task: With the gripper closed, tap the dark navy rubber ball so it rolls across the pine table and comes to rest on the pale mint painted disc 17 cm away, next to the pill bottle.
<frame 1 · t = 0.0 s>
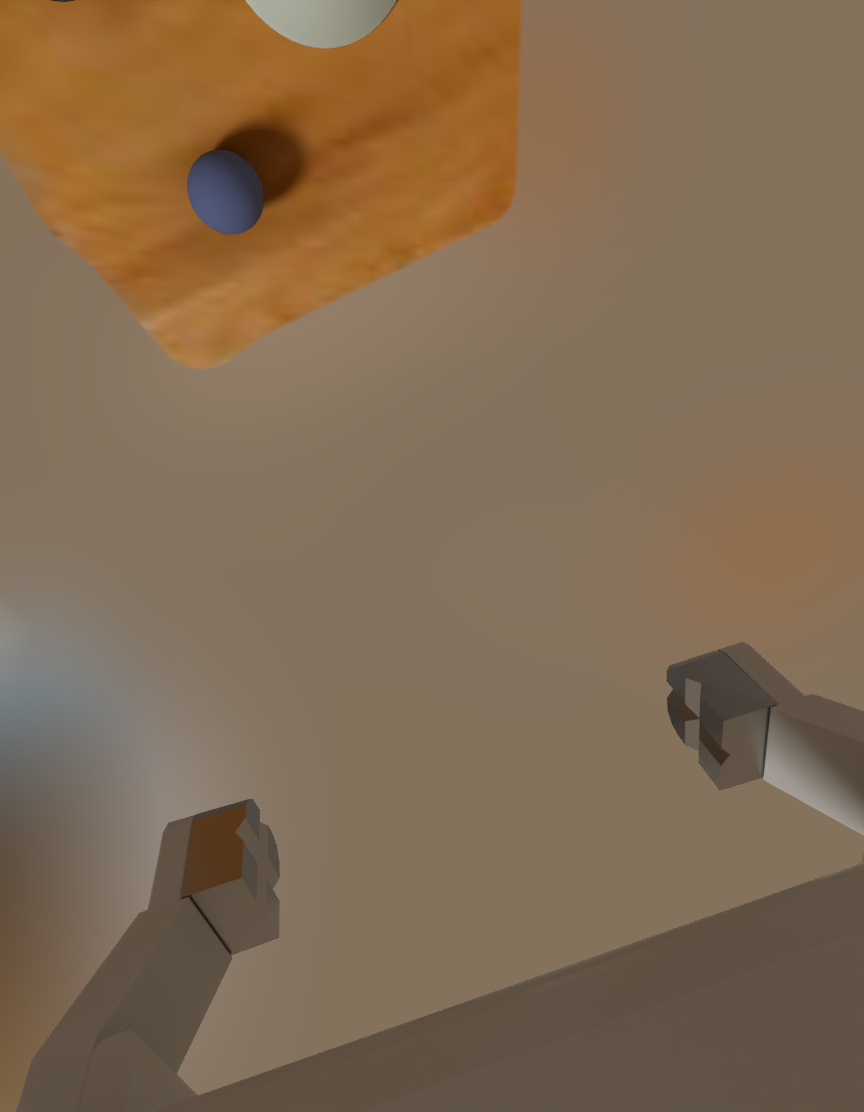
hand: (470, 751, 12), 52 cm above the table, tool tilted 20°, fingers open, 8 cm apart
ball: (226, 193, 47), on the table
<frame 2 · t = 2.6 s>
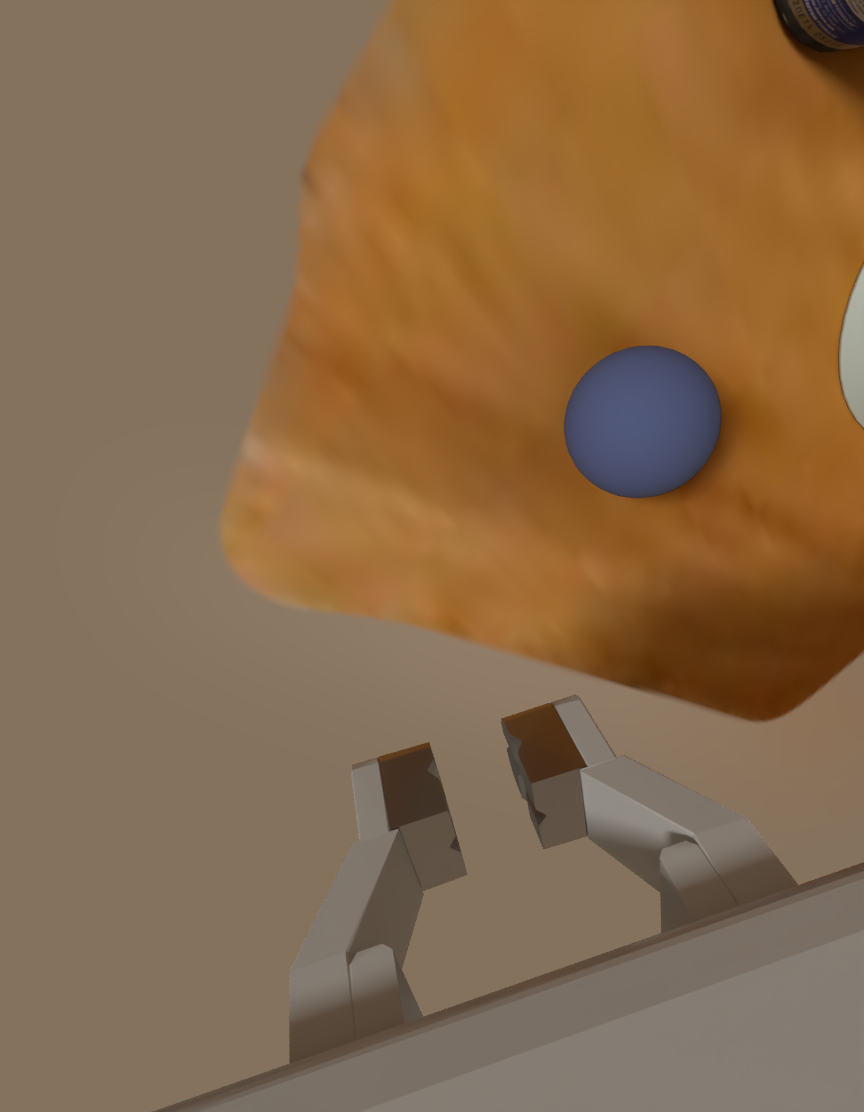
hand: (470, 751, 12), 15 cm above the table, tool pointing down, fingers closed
ball: (639, 423, 23), on the table
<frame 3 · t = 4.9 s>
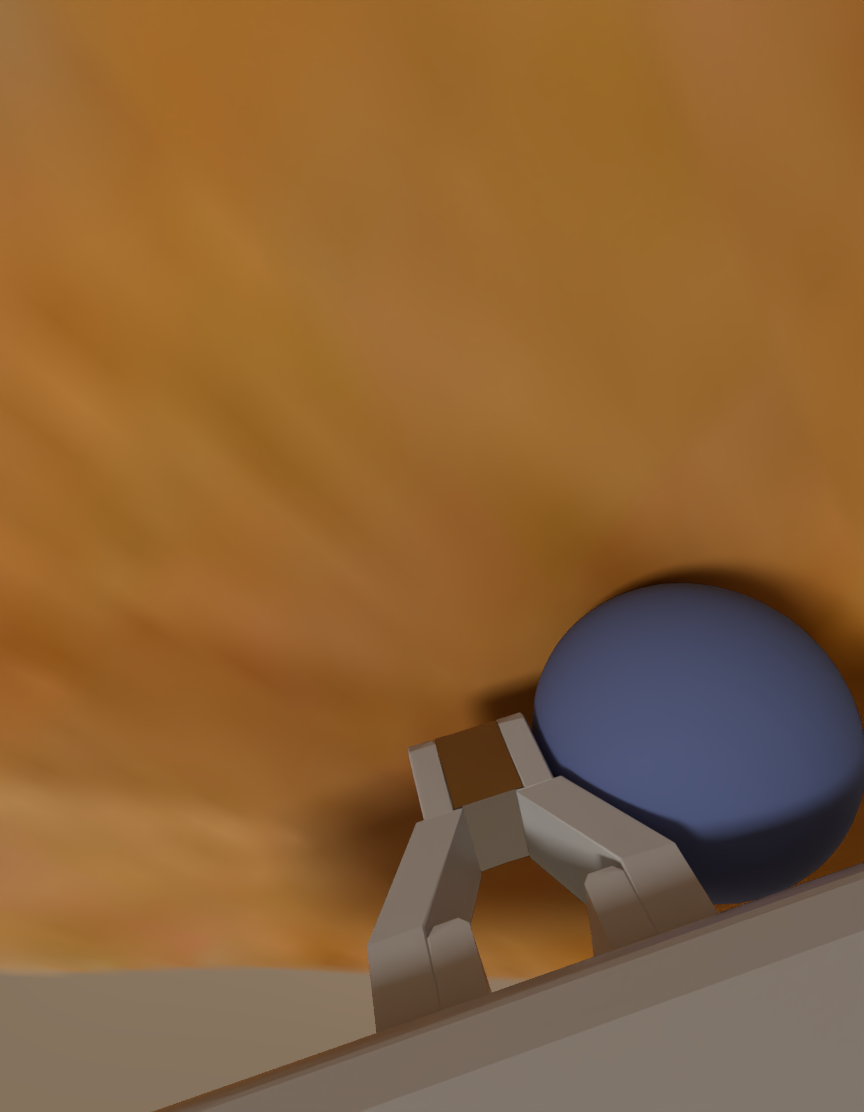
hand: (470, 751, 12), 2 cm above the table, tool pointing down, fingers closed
ball: (683, 732, 11), on the table, touching gripper
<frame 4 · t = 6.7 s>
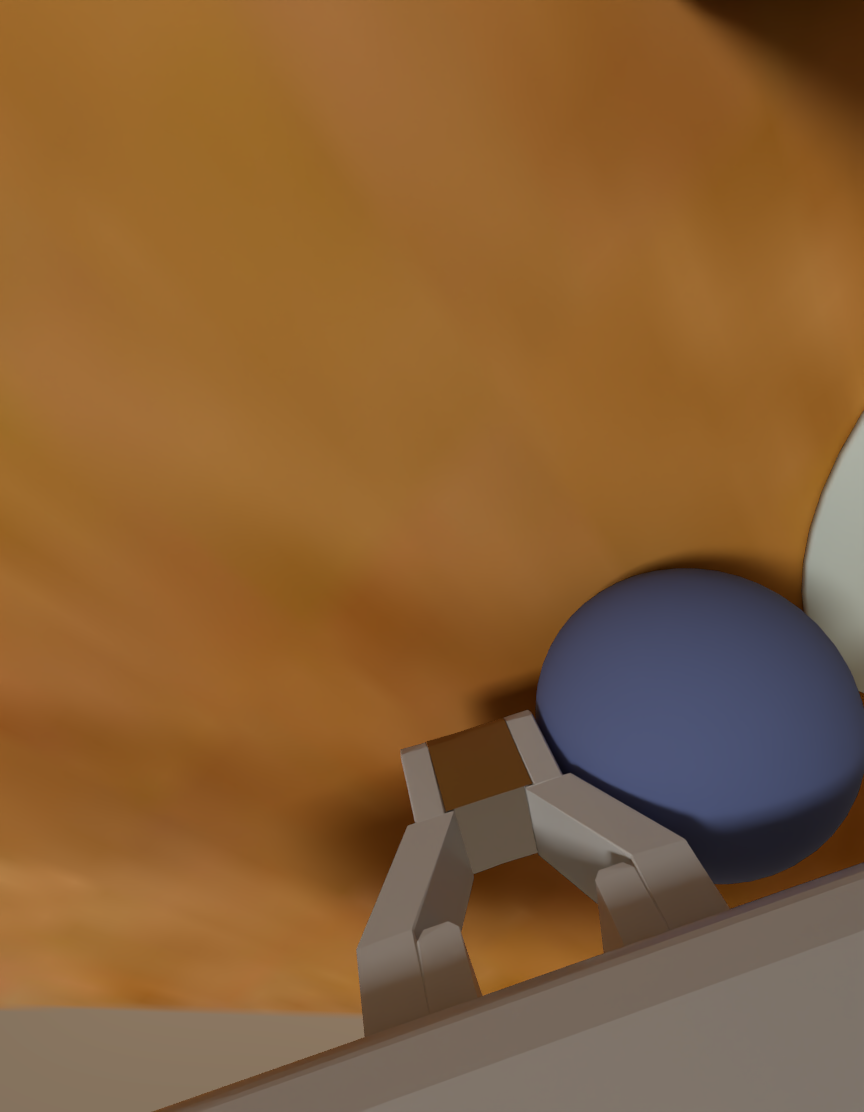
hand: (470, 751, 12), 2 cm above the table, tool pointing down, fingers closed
ball: (686, 716, 12), on the table, touching gripper
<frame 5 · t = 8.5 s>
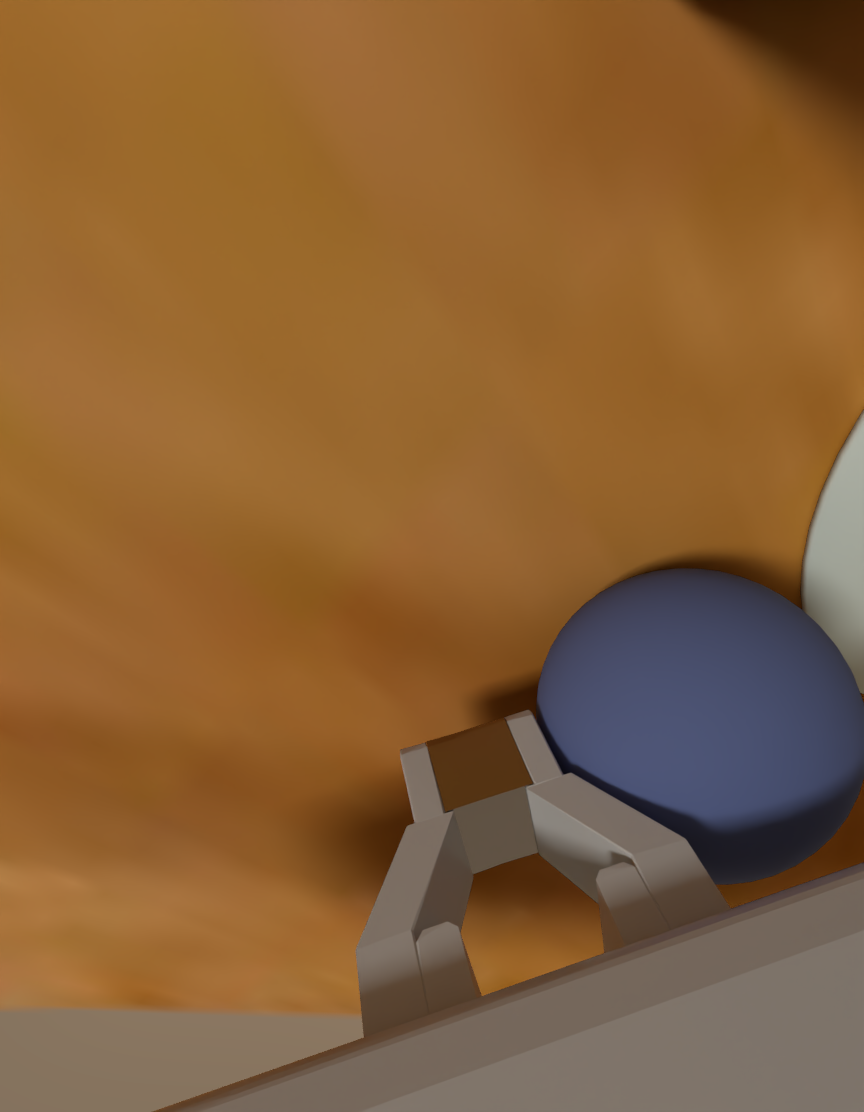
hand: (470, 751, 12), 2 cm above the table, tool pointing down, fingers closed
ball: (687, 716, 12), on the table, touching gripper
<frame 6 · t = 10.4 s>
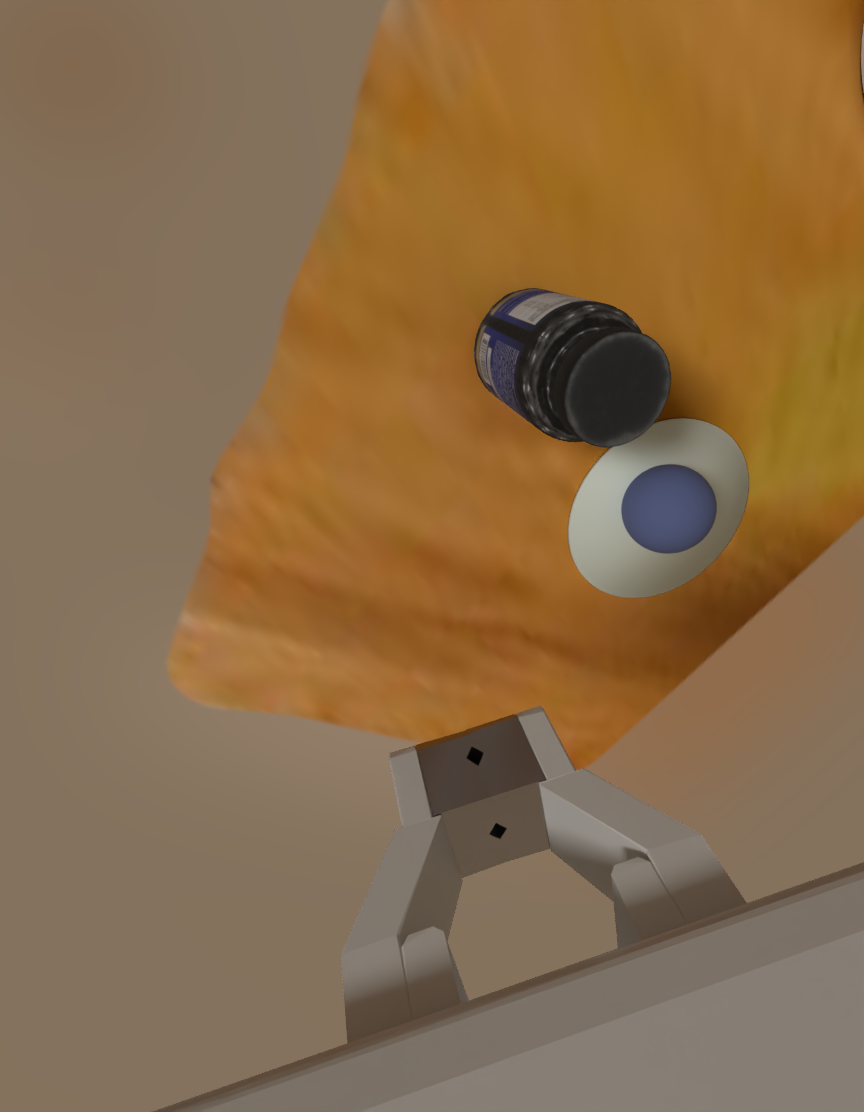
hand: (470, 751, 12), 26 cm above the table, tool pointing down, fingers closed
pill bottle: (522, 345, 35), on the table
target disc: (658, 513, 42), on the table
ball: (667, 509, 38), resting on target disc
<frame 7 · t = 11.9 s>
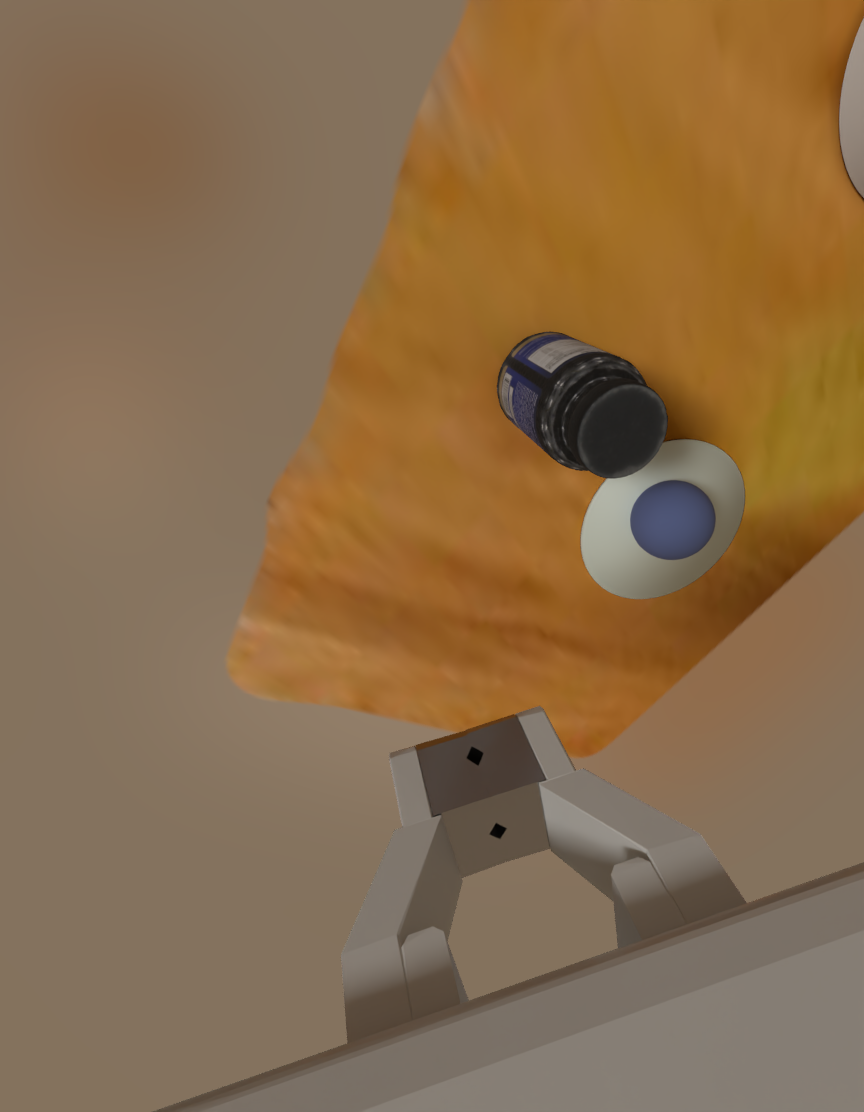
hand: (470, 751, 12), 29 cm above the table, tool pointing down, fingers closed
pill bottle: (539, 379, 39), on the table
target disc: (662, 523, 46), on the table
ball: (671, 520, 43), resting on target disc
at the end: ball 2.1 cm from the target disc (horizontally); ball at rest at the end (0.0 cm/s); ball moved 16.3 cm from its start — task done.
